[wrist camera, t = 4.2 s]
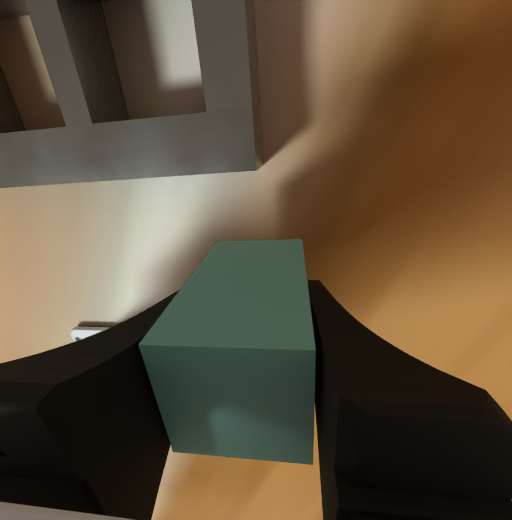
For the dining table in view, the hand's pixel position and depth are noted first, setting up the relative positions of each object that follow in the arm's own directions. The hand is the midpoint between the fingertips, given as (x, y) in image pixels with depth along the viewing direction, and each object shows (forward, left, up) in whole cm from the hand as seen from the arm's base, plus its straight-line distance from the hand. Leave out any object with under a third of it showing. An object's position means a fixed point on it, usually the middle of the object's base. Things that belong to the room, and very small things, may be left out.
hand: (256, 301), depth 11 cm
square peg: (0, 0, -2) cm, 2 cm away
